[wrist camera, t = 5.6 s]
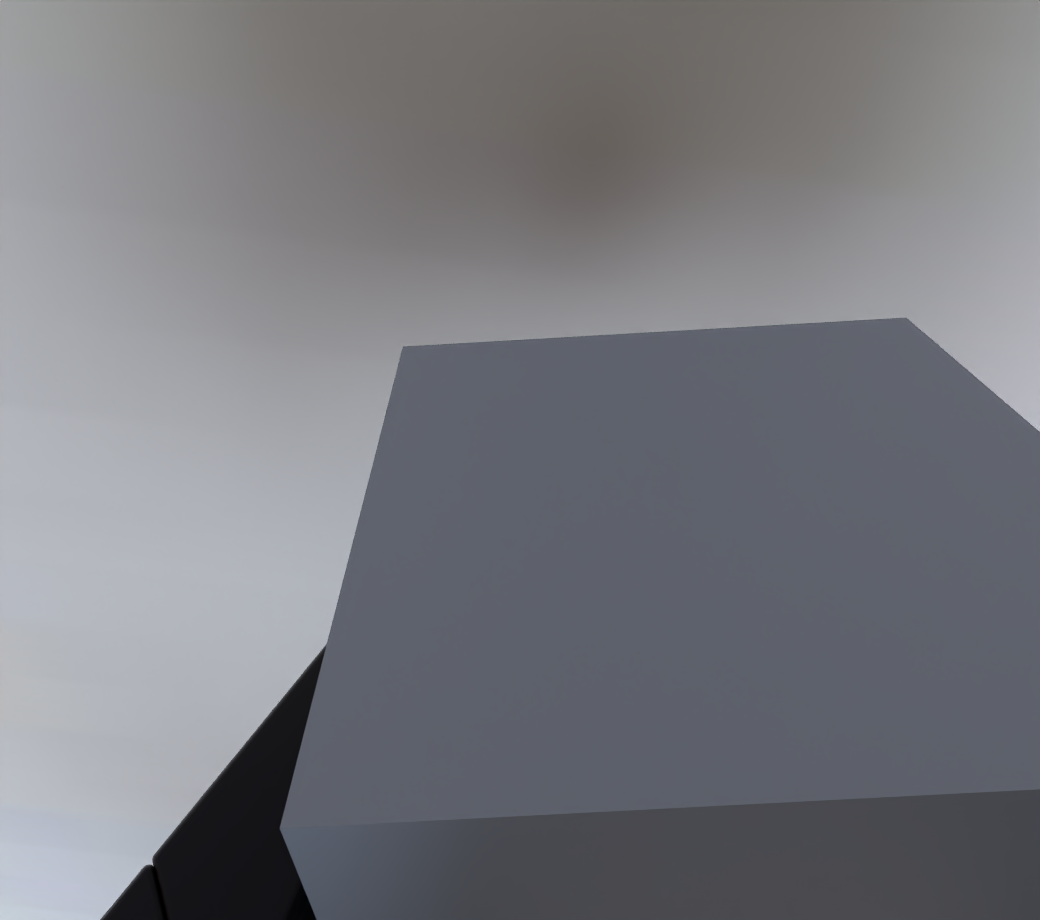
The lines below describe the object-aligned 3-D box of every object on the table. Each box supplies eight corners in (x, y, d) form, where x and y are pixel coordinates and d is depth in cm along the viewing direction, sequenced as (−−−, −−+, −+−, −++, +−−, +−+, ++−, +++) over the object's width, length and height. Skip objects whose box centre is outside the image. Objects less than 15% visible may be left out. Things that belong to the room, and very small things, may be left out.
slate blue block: (454, 682, 10) (421, 1179, 6) (402, 346, 7) (279, 828, 3) (820, 663, 10) (1045, 1148, 6) (906, 318, 7) (1431, 767, 3)
